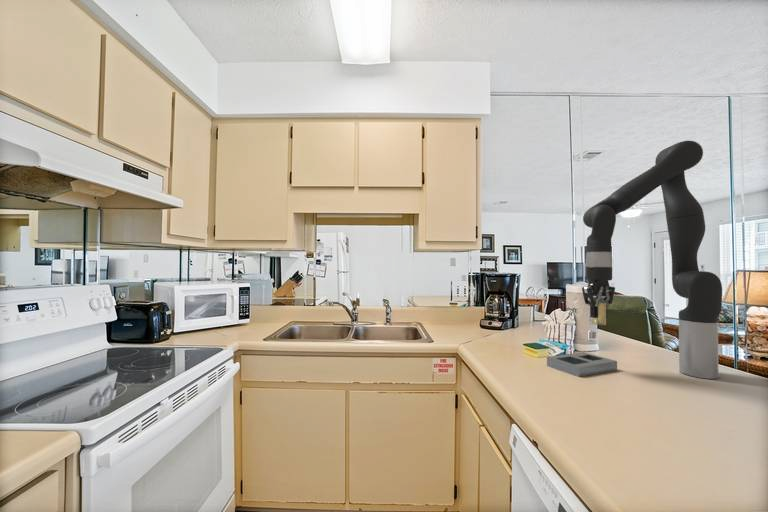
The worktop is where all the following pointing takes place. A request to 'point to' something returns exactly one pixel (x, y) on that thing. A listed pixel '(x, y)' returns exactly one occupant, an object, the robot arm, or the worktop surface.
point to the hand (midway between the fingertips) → (598, 317)
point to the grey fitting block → (582, 364)
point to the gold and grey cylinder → (600, 313)
